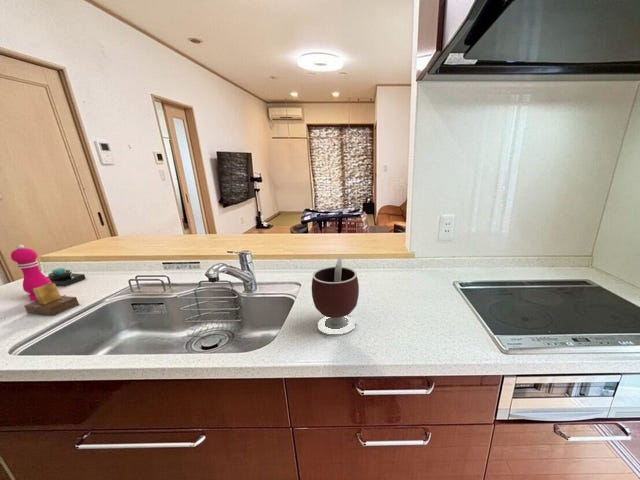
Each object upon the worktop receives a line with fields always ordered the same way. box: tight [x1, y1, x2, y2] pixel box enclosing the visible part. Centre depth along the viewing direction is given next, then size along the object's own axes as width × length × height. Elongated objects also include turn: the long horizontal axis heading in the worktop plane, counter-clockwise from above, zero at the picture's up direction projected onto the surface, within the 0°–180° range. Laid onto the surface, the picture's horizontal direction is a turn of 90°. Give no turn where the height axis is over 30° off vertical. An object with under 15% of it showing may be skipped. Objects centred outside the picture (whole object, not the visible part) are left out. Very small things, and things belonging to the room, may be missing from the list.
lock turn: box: [33, 283, 62, 305], centre depth 97 cm, size 5×2×6 cm, turn 172°
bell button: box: [51, 267, 66, 275], centre depth 119 cm, size 4×4×2 cm
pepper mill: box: [10, 243, 52, 302], centre depth 104 cm, size 7×7×20 cm
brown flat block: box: [23, 294, 80, 317], centre depth 99 cm, size 10×9×3 cm
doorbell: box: [46, 269, 87, 288], centre depth 120 cm, size 12×8×4 cm, turn 82°
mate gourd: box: [311, 255, 360, 337], centre depth 89 cm, size 16×14×20 cm
